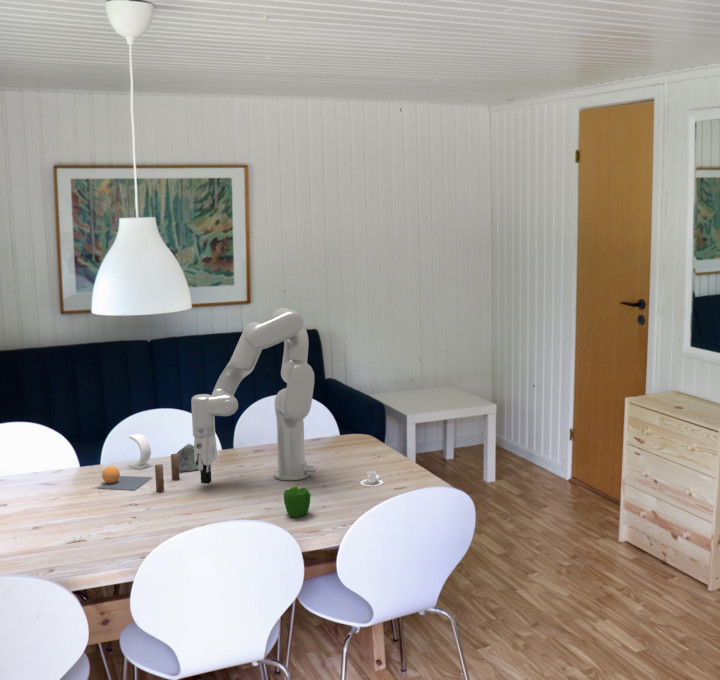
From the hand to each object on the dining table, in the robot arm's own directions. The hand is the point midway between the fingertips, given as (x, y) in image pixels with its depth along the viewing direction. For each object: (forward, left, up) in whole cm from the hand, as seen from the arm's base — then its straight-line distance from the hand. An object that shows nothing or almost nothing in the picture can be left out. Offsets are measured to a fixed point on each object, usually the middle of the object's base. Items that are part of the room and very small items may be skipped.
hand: (206, 482), depth 280 cm
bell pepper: (-38, +22, -2) cm, 44 cm away
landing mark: (+30, 0, -2) cm, 30 cm away
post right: (+14, -6, -2) cm, 16 cm away
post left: (+14, +7, -2) cm, 16 cm away
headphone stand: (+33, -19, -2) cm, 38 cm away
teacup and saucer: (-58, -13, -2) cm, 60 cm away
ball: (+35, +1, +2) cm, 35 cm away
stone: (+14, -19, -2) cm, 24 cm away
